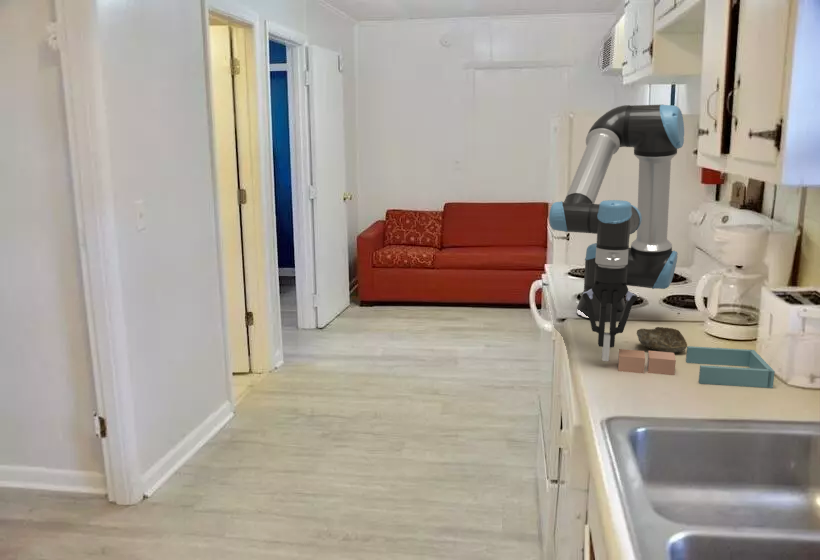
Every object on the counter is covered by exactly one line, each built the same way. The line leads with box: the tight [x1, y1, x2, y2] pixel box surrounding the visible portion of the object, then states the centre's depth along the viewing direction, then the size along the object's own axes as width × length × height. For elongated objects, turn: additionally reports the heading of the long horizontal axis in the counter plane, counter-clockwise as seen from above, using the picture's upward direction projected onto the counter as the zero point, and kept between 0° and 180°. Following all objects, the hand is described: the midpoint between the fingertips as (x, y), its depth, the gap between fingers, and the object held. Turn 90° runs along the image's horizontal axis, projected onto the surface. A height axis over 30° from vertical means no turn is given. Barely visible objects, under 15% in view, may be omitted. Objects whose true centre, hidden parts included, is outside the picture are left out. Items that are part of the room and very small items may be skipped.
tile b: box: [617, 348, 646, 374], centre depth 176 cm, size 6×6×4 cm
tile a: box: [646, 350, 677, 376], centre depth 175 cm, size 6×6×4 cm
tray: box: [685, 345, 775, 389], centre depth 172 cm, size 16×16×4 cm
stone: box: [636, 326, 688, 354], centre depth 192 cm, size 13×8×8 cm
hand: (605, 359), depth 177 cm, fingers closed
